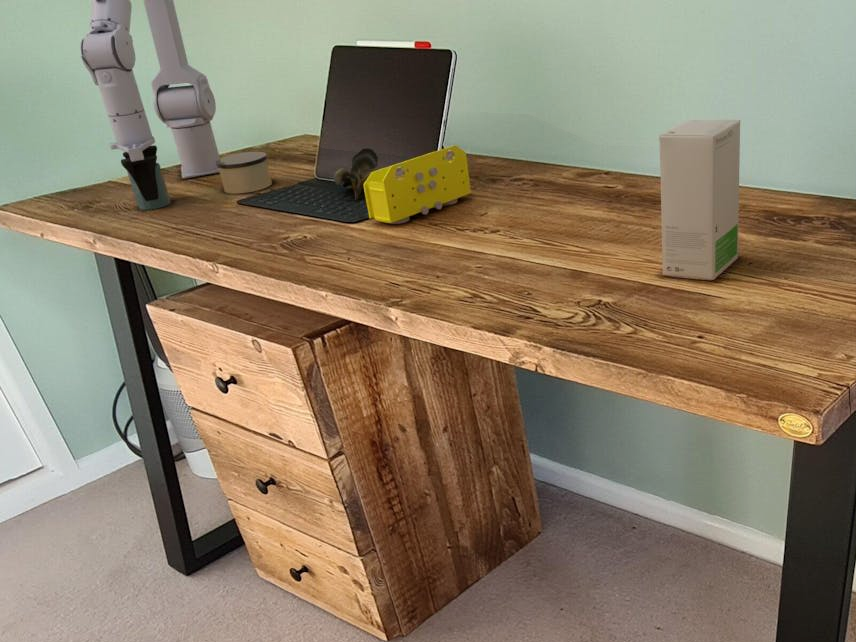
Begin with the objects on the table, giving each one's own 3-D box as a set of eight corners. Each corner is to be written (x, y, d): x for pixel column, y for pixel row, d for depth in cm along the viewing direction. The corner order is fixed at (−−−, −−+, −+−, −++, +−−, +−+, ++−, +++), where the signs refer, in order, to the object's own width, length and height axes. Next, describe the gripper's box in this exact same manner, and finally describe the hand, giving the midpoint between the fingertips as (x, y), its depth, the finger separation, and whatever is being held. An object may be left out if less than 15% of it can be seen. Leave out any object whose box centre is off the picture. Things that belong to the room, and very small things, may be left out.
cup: (139, 204, 156) (127, 166, 153) (170, 198, 157) (159, 161, 154) (138, 211, 152) (126, 173, 149) (171, 206, 153) (159, 167, 150)
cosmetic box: (713, 282, 99) (715, 136, 91) (657, 276, 102) (654, 134, 94) (740, 257, 105) (744, 117, 97) (686, 252, 108) (686, 116, 100)
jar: (221, 186, 162) (214, 157, 159) (270, 177, 164) (263, 148, 161) (224, 197, 155) (216, 167, 152) (275, 187, 157) (268, 158, 154)
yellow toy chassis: (394, 229, 128) (383, 169, 124) (369, 223, 132) (358, 165, 127) (473, 198, 138) (466, 142, 133) (448, 194, 141) (441, 139, 137)
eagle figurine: (390, 188, 143) (390, 165, 150) (358, 155, 139) (359, 132, 146) (355, 217, 146) (356, 193, 153) (323, 186, 142) (326, 162, 148)
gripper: (103, 110, 152) (129, 190, 159) (98, 123, 140) (126, 210, 147) (146, 103, 153) (170, 183, 161) (145, 116, 142) (170, 202, 149)
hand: (152, 195), depth 154 cm, fingers closed on cup, 5 cm apart
